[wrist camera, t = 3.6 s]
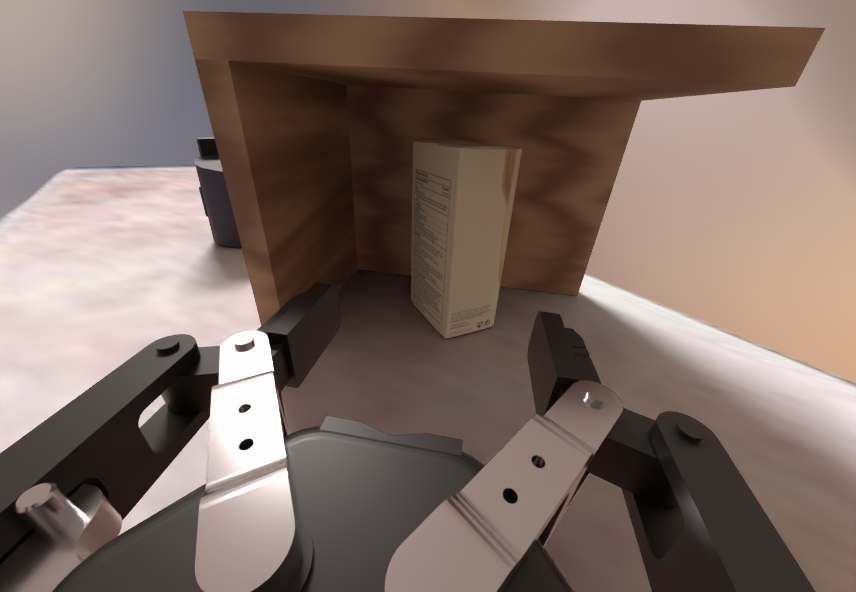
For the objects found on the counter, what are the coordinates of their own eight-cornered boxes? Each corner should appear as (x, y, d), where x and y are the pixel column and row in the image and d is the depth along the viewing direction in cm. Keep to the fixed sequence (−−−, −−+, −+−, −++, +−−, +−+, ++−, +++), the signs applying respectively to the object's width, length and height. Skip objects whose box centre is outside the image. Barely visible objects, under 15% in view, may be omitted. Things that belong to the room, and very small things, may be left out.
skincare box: (495, 328, 24) (530, 147, 18) (443, 342, 22) (463, 147, 16) (452, 289, 29) (468, 137, 23) (407, 298, 27) (411, 136, 21)
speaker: (210, 228, 38) (187, 132, 32) (264, 225, 41) (251, 136, 35) (213, 257, 33) (187, 148, 27) (274, 251, 36) (262, 152, 30)
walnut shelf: (573, 288, 30) (640, 75, 22) (629, 403, 18) (825, 27, 10) (348, 261, 33) (333, 62, 24) (266, 346, 21) (182, 10, 12)
